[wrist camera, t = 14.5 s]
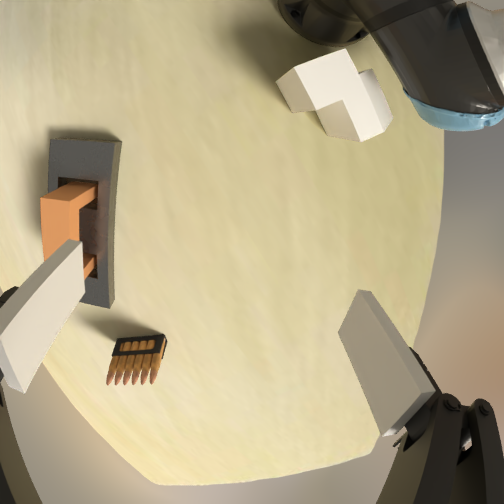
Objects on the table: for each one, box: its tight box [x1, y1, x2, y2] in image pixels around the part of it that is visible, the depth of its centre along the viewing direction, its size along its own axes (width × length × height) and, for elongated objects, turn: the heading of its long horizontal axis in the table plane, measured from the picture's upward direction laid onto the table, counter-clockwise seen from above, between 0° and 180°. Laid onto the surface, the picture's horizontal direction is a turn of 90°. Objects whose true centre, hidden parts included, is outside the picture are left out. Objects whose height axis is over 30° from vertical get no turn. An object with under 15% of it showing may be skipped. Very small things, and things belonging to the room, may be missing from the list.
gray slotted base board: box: [48, 138, 122, 309], centre depth 41 cm, size 28×12×3 cm, turn 168°
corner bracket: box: [276, 48, 393, 142], centre depth 33 cm, size 11×11×12 cm
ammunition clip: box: [106, 334, 167, 385], centre depth 48 cm, size 11×2×12 cm, turn 98°
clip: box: [40, 181, 99, 280], centre depth 38 cm, size 14×5×10 cm, turn 168°
